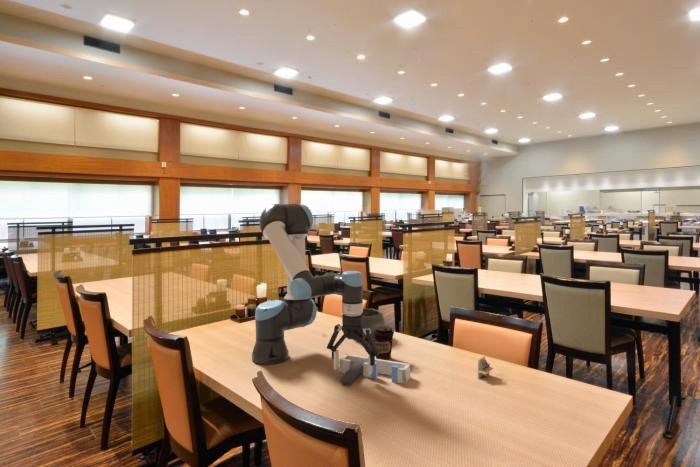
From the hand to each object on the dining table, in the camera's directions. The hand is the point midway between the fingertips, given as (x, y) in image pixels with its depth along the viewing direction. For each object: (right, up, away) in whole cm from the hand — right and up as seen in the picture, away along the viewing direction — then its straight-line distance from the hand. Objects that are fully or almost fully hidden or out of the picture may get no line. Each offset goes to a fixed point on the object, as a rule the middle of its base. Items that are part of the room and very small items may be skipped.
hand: (352, 370), depth 146 cm
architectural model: (+49, -3, +2) cm, 49 cm away
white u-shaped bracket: (+8, -3, +4) cm, 9 cm away
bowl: (+7, 0, +48) cm, 48 cm away
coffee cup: (+13, -2, +20) cm, 24 cm away
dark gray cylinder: (0, -3, 0) cm, 3 cm away
